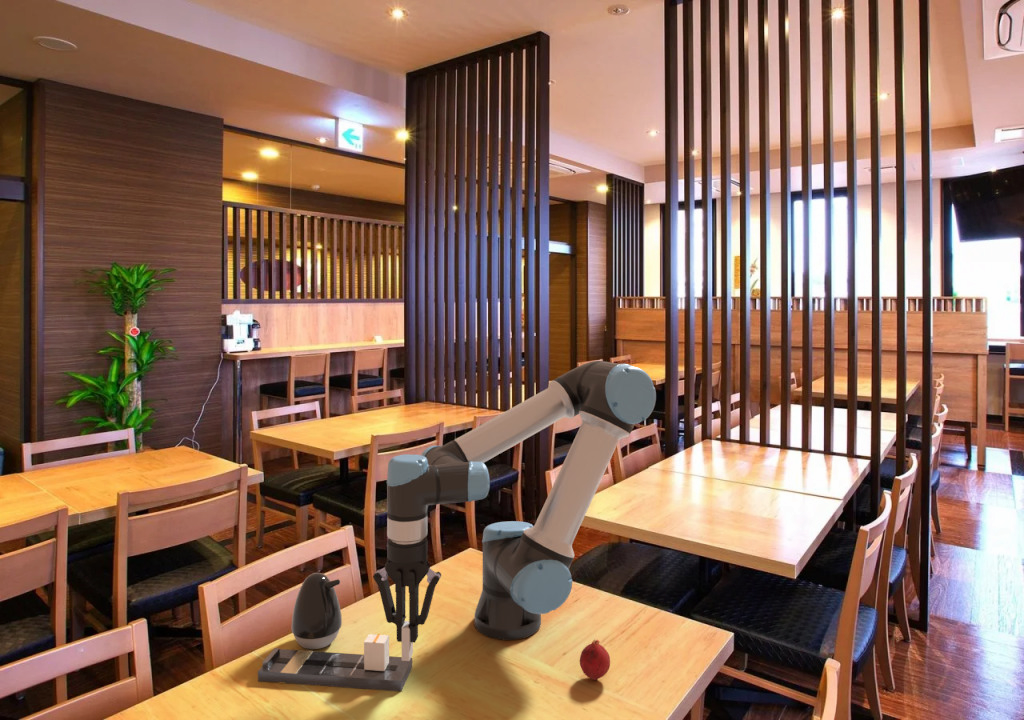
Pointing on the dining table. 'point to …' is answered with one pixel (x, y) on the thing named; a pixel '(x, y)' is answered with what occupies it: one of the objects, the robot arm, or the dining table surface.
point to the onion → (594, 660)
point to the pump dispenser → (316, 612)
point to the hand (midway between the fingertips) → (407, 656)
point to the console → (332, 670)
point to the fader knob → (376, 652)
